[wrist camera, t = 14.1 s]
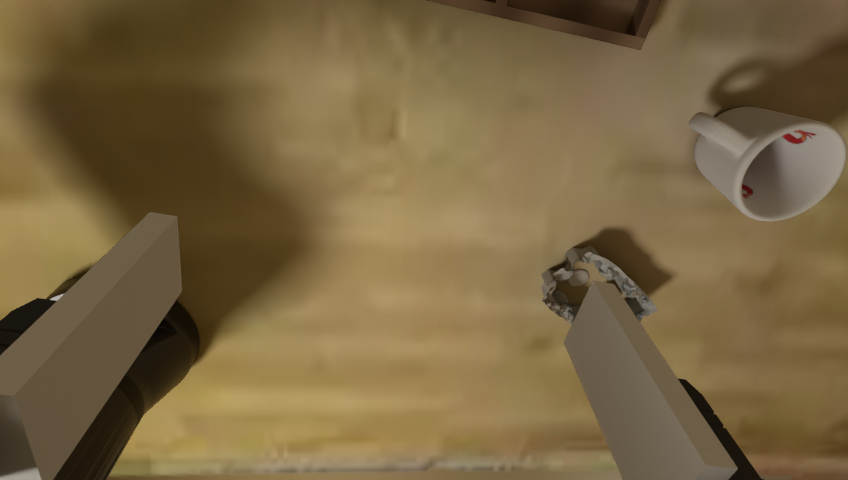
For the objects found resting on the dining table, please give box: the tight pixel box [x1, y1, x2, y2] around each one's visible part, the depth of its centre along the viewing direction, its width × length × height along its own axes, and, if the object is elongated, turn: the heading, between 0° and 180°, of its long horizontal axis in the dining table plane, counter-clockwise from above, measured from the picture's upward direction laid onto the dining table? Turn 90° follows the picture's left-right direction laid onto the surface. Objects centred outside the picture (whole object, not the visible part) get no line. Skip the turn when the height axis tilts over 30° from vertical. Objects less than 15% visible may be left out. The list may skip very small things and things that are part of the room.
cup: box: [689, 107, 847, 221], centre depth 37 cm, size 11×8×8 cm
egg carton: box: [542, 245, 658, 324], centre depth 47 cm, size 11×8×4 cm
